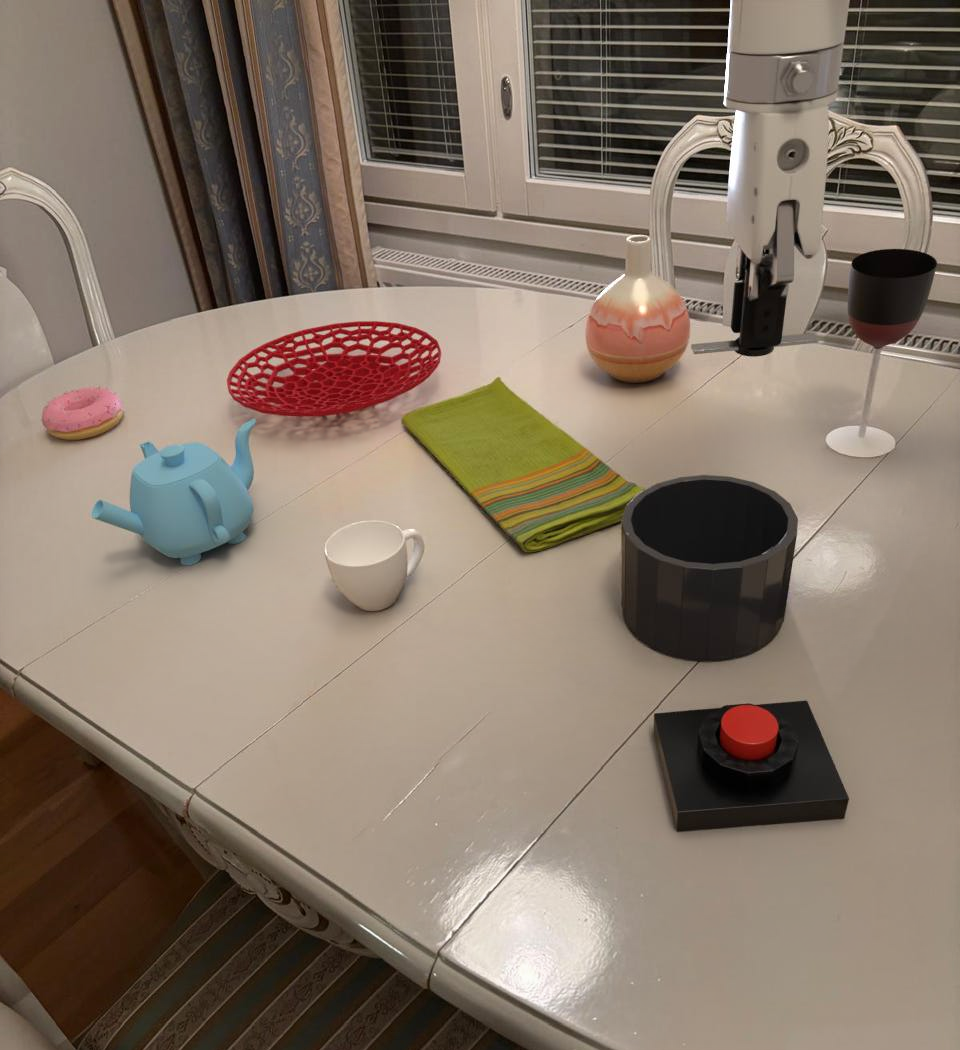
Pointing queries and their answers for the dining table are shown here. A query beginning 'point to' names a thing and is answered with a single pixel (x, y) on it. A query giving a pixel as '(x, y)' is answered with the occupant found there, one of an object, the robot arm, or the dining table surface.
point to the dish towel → (521, 466)
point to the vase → (637, 321)
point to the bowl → (334, 371)
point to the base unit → (747, 771)
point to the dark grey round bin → (706, 566)
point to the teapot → (187, 498)
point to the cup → (372, 562)
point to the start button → (748, 732)
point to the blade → (752, 352)
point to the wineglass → (882, 327)
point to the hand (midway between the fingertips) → (755, 336)
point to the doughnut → (82, 413)
